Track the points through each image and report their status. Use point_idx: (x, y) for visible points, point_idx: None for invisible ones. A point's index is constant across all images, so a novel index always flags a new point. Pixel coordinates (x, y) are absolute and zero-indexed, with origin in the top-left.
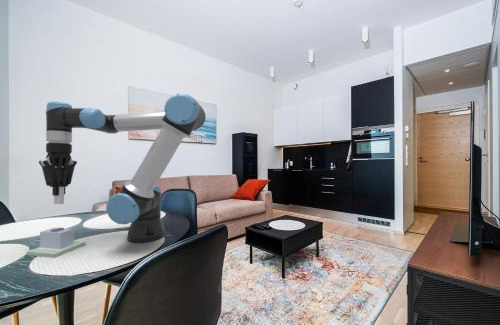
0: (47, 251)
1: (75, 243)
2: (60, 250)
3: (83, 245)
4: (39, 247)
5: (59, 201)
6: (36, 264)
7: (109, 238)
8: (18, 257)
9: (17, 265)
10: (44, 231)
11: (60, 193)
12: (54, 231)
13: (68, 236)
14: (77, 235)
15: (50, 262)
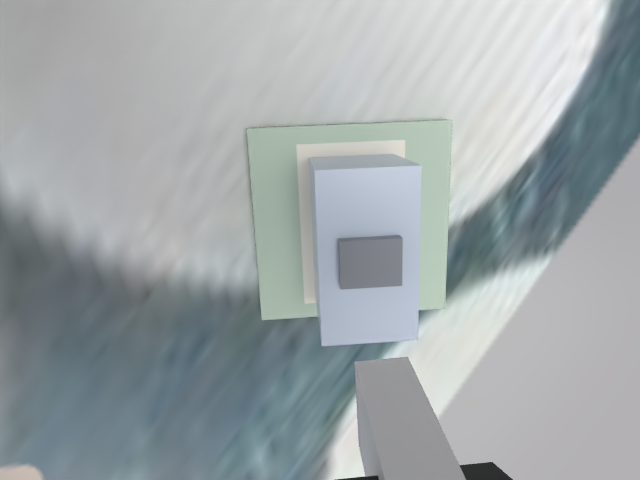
0: (426, 201)
1: (287, 167)
2: (403, 139)
3: (264, 127)
4: None
5: (417, 387)
6: (527, 123)
7: (97, 72)
8: (468, 304)
9: (545, 203)
10: (406, 319)
11: (453, 468)
12: (399, 247)
13: (351, 163)
14: (129, 345)
15: (499, 74)
